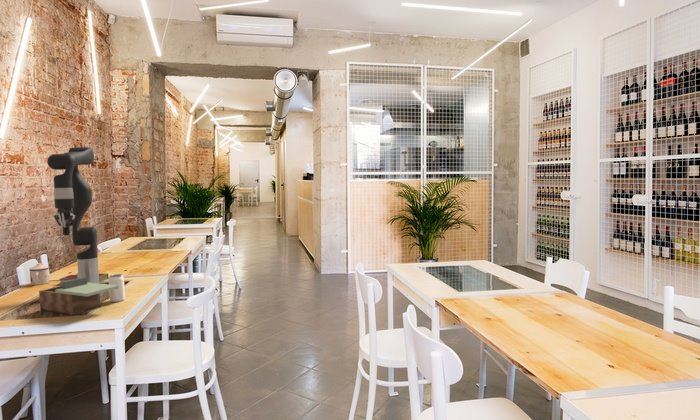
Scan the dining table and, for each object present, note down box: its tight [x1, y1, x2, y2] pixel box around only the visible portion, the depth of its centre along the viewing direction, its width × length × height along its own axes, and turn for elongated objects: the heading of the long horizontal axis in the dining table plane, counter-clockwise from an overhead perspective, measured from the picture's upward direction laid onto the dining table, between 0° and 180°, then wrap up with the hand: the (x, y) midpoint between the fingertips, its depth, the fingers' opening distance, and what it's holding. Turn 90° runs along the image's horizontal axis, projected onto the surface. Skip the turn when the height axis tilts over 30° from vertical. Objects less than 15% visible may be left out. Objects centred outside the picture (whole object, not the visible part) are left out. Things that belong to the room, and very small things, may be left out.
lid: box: [55, 277, 119, 297], centre depth 192 cm, size 20×15×4 cm
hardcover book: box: [58, 273, 109, 286], centre depth 253 cm, size 12×21×4 cm, turn 95°
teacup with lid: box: [28, 262, 50, 286], centre depth 250 cm, size 12×9×12 cm
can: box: [108, 273, 126, 303], centre depth 210 cm, size 6×6×12 cm
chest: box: [38, 285, 101, 316], centre depth 198 cm, size 20×14×9 cm
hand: (66, 235), depth 205 cm, fingers closed
